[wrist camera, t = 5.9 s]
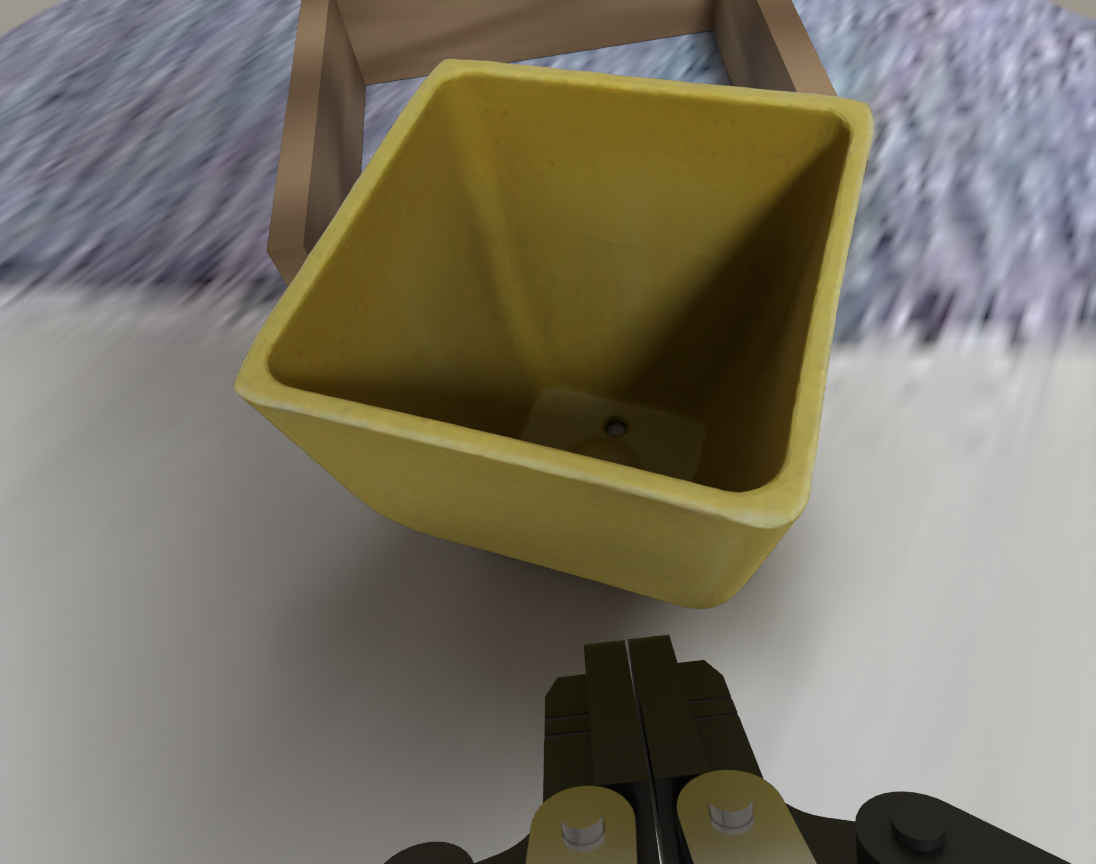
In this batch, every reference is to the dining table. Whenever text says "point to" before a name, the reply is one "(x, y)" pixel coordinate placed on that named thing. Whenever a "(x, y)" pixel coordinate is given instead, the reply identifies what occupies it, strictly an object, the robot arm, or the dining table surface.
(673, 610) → the dining table surface
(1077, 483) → the dining table surface
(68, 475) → the dining table surface
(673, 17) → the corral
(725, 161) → the flower pot
